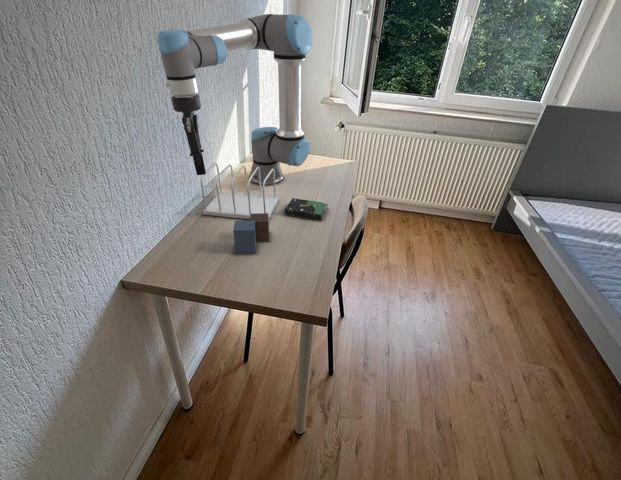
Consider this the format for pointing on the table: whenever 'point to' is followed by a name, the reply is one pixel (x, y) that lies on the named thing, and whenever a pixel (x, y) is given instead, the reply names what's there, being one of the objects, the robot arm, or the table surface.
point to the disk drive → (306, 209)
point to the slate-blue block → (245, 237)
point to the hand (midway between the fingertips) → (201, 173)
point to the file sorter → (239, 198)
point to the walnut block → (261, 226)
